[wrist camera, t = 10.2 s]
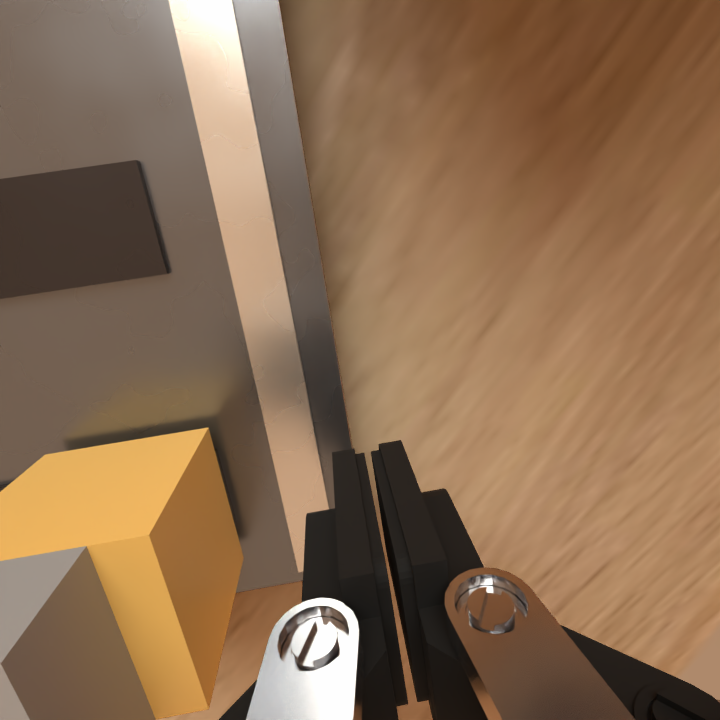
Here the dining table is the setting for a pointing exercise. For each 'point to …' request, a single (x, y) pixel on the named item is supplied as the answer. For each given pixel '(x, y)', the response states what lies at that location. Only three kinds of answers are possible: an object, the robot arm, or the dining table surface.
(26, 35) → the panel
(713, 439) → the dining table surface
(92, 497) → the breaker
